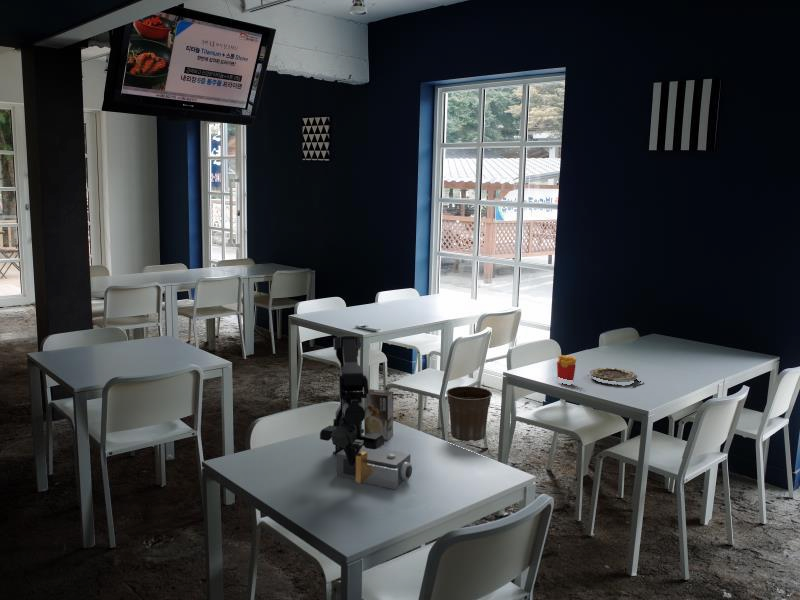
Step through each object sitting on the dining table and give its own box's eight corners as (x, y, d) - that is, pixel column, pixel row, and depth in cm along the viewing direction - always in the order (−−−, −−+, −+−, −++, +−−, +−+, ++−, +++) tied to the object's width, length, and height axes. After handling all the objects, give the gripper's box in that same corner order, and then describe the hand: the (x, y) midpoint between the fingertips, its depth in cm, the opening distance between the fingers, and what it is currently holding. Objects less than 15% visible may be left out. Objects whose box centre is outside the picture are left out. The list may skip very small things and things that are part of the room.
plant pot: (480, 447, 243) (481, 401, 241) (437, 438, 251) (438, 394, 248) (497, 433, 257) (499, 390, 255) (456, 426, 265) (457, 384, 262)
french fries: (554, 382, 330) (556, 355, 328) (560, 380, 333) (561, 353, 331) (571, 386, 323) (573, 358, 321) (576, 384, 326) (578, 357, 324)
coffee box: (394, 435, 254) (394, 391, 251) (387, 440, 248) (388, 395, 245) (369, 431, 257) (370, 388, 254) (363, 437, 251) (363, 393, 248)
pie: (622, 392, 316) (622, 381, 315) (570, 381, 336) (570, 370, 335) (654, 382, 335) (654, 372, 334) (602, 372, 355) (603, 362, 354)
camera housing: (336, 475, 216) (336, 451, 215) (352, 464, 225) (352, 441, 224) (401, 489, 207) (402, 464, 205) (416, 477, 216) (416, 453, 215)
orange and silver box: (355, 487, 207) (355, 455, 205) (364, 480, 211) (364, 449, 210) (389, 494, 202) (390, 462, 201) (397, 487, 207) (398, 456, 205)
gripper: (309, 416, 203) (309, 468, 205) (367, 426, 195) (366, 480, 197) (329, 406, 213) (329, 456, 215) (385, 415, 205) (384, 467, 207)
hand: (351, 465), depth 208 cm, fingers closed
